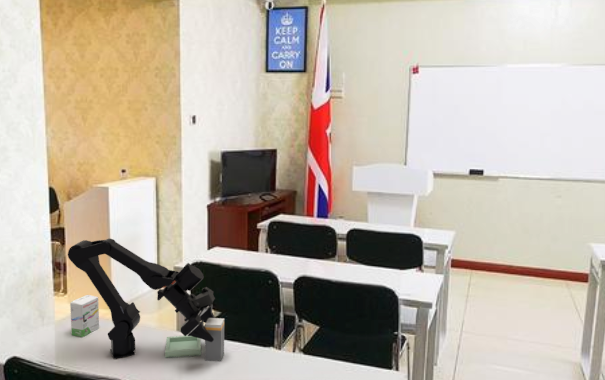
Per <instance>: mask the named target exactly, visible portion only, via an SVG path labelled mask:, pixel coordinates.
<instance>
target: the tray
mask: <svg viewBox="0 0 605 380" xmlns="http://www.w3.org/2000/svg"><path fill="white" fill-rule="evenodd" d="M201 341H202V339H200V338H196V337H193V336H184V335H179V336H178V335H174V336H166V341H165V350H164V354H165V355H164V358H165V359H168V358H169V359H170V358H172V359H173V358H182V357H185V358H186V357H198V356H200V357H201V356H202V347H201V346H202V344H201V343H202V342H201Z"/></svg>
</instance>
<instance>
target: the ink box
mask: <svg viewBox="0 0 605 380" xmlns="http://www.w3.org/2000/svg"><path fill="white" fill-rule="evenodd" d="M69 307H70V325H71V326H70V327H71V336H75V337H80V338H84V337H85V336H87V335H89V334H90V333H91V334H92V332H94V331H96V330H98V329H99V328H100V312H99V311H100V310H99V309H100V308H99V297H98V296H96V295H91V294H86V295H83V296H82V297H79V298H76V299H74V300H72V301H71V302H70V305H69Z"/></svg>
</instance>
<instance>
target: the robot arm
mask: <svg viewBox="0 0 605 380" xmlns="http://www.w3.org/2000/svg"><path fill="white" fill-rule="evenodd" d="M101 255H107V257H110V258H111V259H113V260H114V261H116V262H118V263H119V264H121V265H123V267H126V268H127V269H129V270H130V271H132V272H133V273H135V274H137V276H139V278H140V279H141V280H142V282H143V283H144V284H145V285H146V286H147V287H148V288H150V289H152V290H154V291H155V290H158V291H157V292H156V293H157V297H156V298H157V301H161V299H162V298H163V297H164V298H165V299H166V300H167V301H168V302H169V303H170V304H171V305H172V306H173V307H174V308H175V310H174V312H175V313H177V314H178V312H179V313H180V314H181V315H182V316H183V317H184V323H182V325H181V327H180V333H181V334H182V336H193V337H196V338H200V340H203V341H205V340H206V341H209V342H212V341H213V340H214V339H213V337H212V336H211V335H210V333H209V332H208V331H207V330H206V328H205V324H206V322H207V320H208V318H216V316H215V315H214V313H213V303H214V300H216V297H215V296H214V290H212V288H211V289H210V288H209V287H207V286H205V287H202V289H201V292H200V293H199V294H198V295H195V294H194V293H190V294H189V293H188V292H187V291H192V290H193V289H194V288H195V287H196V286H197V285H198V284H199V283H200V282H201V281H202V280H204V278H205V276H204V273H203V271H201V270H200V268H198V267H196V266H195V265H192V264H190V263H189V262H187V263H186V264H185V265H184V266H183V268H182V269H180V270H178V271H177V270H173V269H172V270H171V269H168V268H167V267H166V266H163V265H161V264H158V263H155V262H149V261H148V260H145V259H143V258H142V257H141V256H139V255H137V254H136V253H134V252H133V251H131V250H129V249H128V248H126V247H124V246H122V245H121V244H120V243H118V242H117V241H116V240H115V239H112V238H106V239H101V240H100V239H98V240H93V241H91V240H87V239H86V240H85V239H84V240H80V241H79V242H77V243H75V244H74V245H72V246H70V247H69V249H68V252H67V258H68V259H69V260H70V261H71V262H72V264H73V265H74V266H75V268H78V269H79V270H81V271H82V272H84V273H85V274H86V275H87V277H88V279H89V280H90V281H91V283H92V285H93V286H94V287H95V289H96V290H97V292H98V294H99V295H100V297H101V298H102V300H103V301H104V303H105V305H106V306H107V308H108V309H109V310H110V315H111V321H112V324H113V327H112V329H110V331H108V333H107V336H108V339H109V340H110V345H111V346H110V348H109V352H110V353H111V355H112V358H113V359H119V358H123V357H124V358H125V357H129V356H134V355H135V353H136V352H135V351H136V338H135V336H134V333H133V331H134V329H136V327H137V326H138V325H139V323H140V321H141V315H140V313H141V311H140V310H138V308H137V306H136V304H135V302H131V303H128V302H126V301H125V300H124V298H123V297H122V296H121V294H120V292H119V291H118V290H117V288H116V286H115V285H114V283H113V282H112V280H111V278H110V277H109V276H108V275H107V273H106V271H105V270H104V268H103V266H102V265H101V264H100V258H99V256H101ZM173 282H174V283H173ZM163 287H164V288H163ZM162 288H163V289H162Z"/></svg>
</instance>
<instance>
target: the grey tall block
mask: <svg viewBox="0 0 605 380" xmlns="http://www.w3.org/2000/svg"><path fill="white" fill-rule="evenodd" d="M204 327H205V328H206V330H207V331H208V332H209V333H210V335H211V336H212V337H213V339H214V340H213V341H212V342H209V341H206V340H204V361H205V362H222V361H223V358H224V356H225V318H221V317H220V318H218V317H215V318H208V320H207V322H206V323H204Z"/></svg>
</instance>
